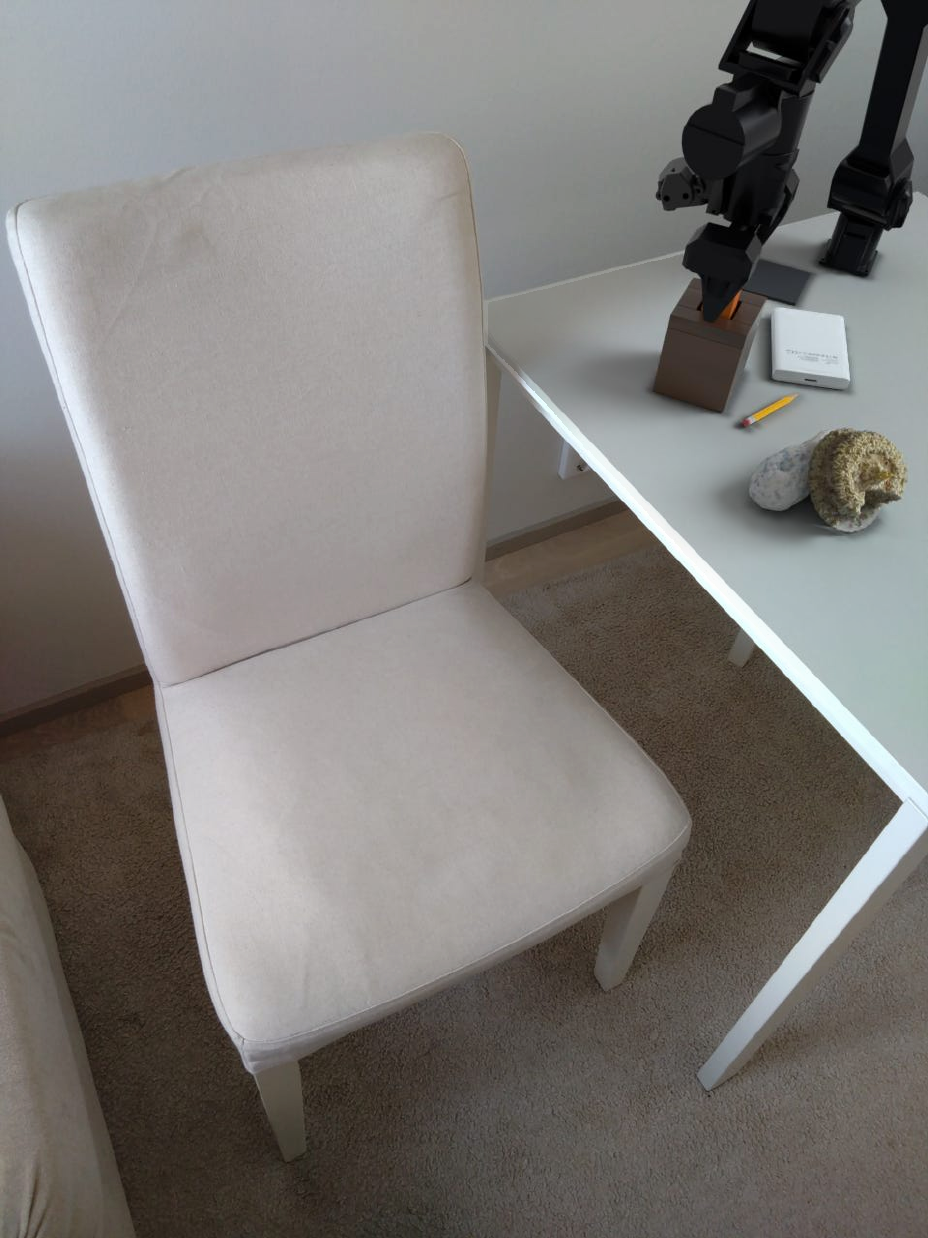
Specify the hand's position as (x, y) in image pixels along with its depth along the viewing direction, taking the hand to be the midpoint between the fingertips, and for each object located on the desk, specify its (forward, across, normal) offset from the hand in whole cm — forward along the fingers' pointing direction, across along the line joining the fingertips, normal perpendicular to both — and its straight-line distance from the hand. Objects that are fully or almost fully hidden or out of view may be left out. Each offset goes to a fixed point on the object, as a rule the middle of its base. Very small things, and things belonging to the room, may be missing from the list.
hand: (721, 298), depth 93 cm
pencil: (+10, +2, +8) cm, 13 cm away
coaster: (+10, -24, +2) cm, 27 cm away
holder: (+10, 0, 0) cm, 10 cm away
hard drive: (+10, -11, +10) cm, 18 cm away
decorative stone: (+11, +11, +19) cm, 25 cm away
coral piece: (+7, +12, +18) cm, 23 cm away
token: (+2, 0, 0) cm, 2 cm away
